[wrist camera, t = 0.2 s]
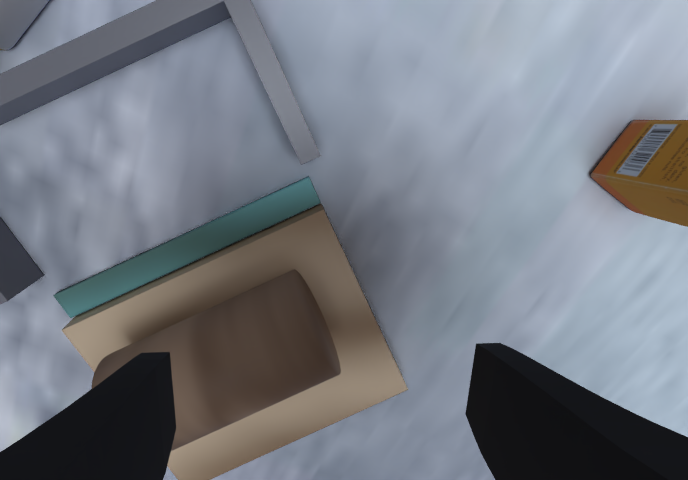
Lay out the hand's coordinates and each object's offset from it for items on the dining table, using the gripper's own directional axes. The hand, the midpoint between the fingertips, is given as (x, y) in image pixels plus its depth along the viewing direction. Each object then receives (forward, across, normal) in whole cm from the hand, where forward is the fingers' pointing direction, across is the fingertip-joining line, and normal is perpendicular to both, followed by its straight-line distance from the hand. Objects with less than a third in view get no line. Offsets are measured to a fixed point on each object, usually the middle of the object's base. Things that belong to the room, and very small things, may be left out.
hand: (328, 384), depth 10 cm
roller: (+6, +3, +4) cm, 8 cm away
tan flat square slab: (+10, +3, +4) cm, 11 cm away
